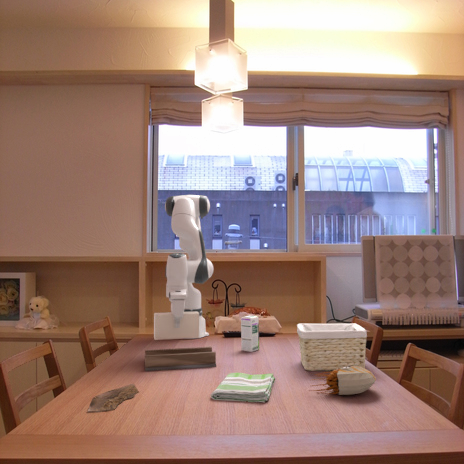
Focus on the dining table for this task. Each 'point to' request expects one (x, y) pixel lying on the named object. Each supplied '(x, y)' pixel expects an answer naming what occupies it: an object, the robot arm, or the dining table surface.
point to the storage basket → (331, 346)
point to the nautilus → (347, 380)
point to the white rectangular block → (166, 326)
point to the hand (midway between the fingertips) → (176, 326)
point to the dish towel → (244, 387)
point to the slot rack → (179, 358)
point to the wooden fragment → (112, 399)
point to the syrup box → (250, 333)
